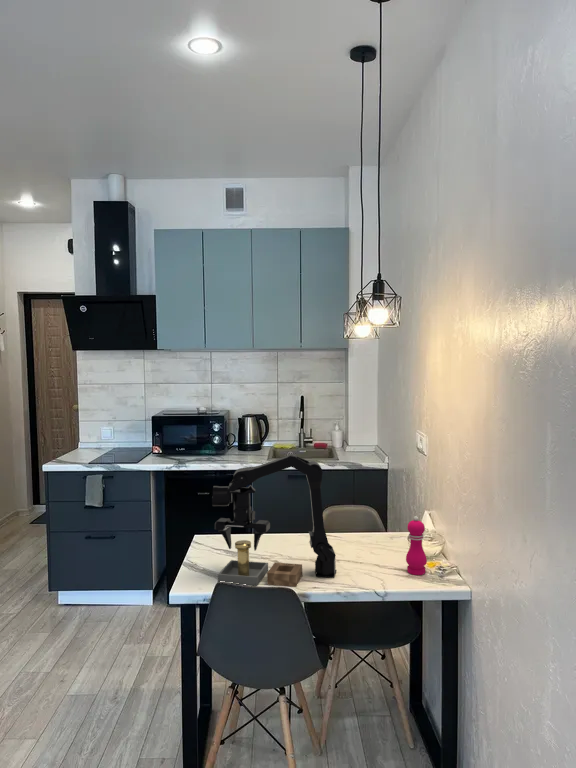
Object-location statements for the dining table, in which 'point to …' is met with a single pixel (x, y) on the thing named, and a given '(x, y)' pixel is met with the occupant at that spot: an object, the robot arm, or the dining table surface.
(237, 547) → the brass pin
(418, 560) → the pepper mill
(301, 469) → the robot arm
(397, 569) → the dining table surface
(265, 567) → the charcoal tray
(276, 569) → the walnut block
